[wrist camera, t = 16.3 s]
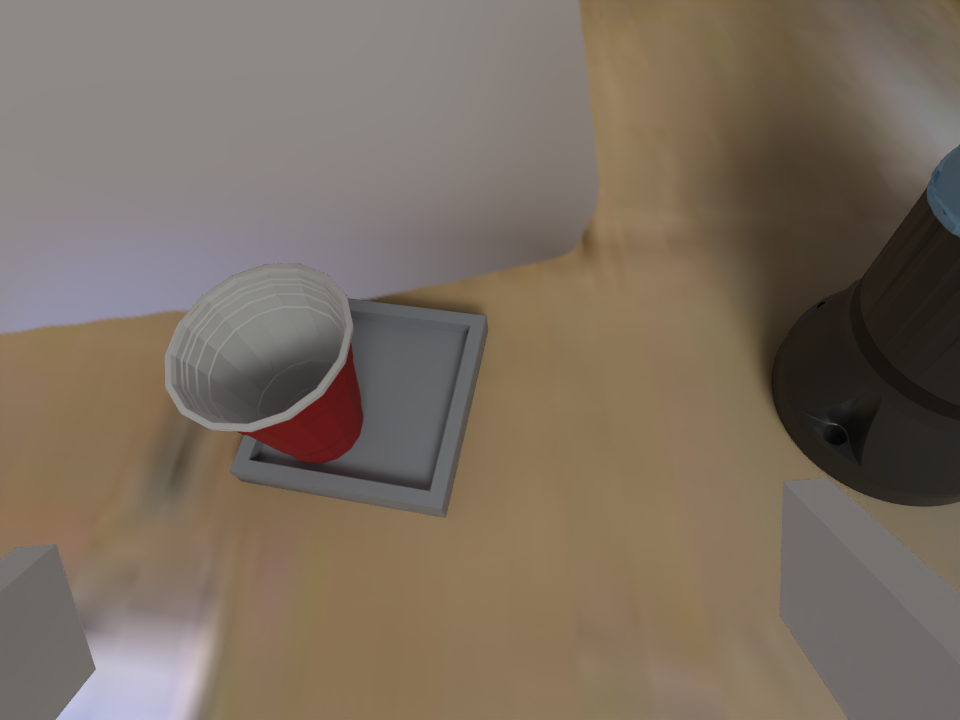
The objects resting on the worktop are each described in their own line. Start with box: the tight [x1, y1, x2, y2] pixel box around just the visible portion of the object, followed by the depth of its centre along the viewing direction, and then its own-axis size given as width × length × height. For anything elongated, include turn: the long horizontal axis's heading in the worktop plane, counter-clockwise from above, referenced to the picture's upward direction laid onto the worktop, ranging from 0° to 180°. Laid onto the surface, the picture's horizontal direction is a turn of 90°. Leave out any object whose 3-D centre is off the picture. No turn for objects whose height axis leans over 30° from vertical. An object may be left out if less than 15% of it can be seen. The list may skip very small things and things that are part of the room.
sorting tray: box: [230, 298, 488, 518], centre depth 46 cm, size 15×15×2 cm
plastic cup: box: [165, 264, 364, 464], centre depth 40 cm, size 11×11×12 cm
